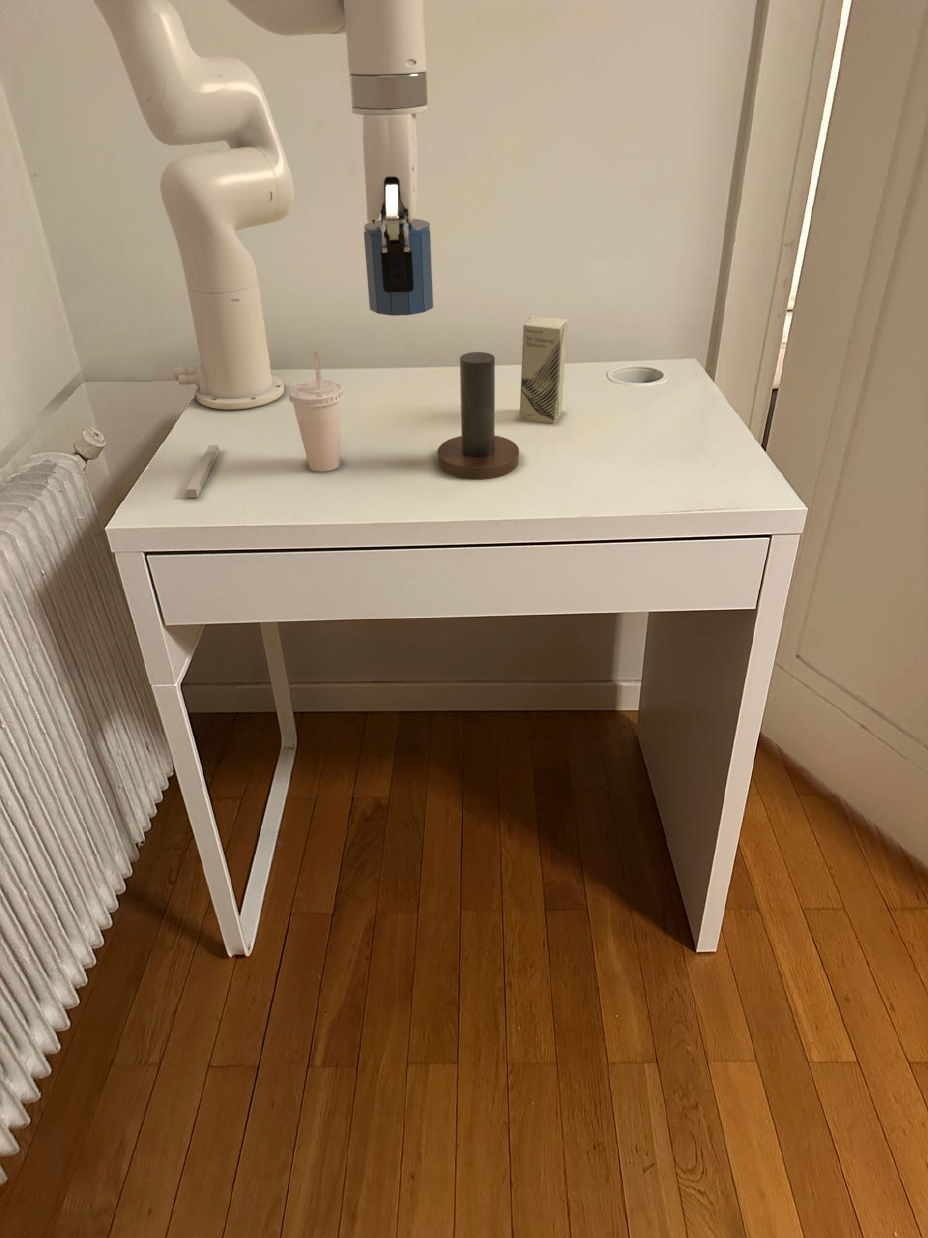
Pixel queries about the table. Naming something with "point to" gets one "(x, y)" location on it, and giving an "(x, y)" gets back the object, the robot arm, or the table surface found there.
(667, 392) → the table surface
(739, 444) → the table surface
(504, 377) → the table surface
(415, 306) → the blue cylinder
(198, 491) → the grey long thin bar
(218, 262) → the robot arm
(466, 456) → the disc
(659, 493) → the table surface
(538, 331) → the box
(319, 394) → the smoothie
